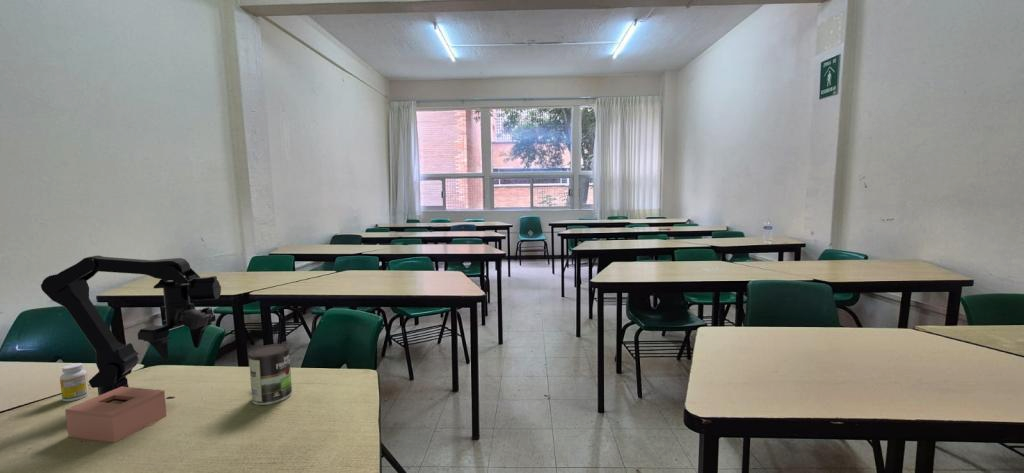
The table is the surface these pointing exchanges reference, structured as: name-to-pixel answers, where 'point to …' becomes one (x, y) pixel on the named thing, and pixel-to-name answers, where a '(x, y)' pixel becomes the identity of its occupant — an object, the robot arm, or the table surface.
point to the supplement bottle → (74, 382)
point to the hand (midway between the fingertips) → (181, 353)
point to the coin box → (115, 414)
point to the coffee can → (270, 373)
